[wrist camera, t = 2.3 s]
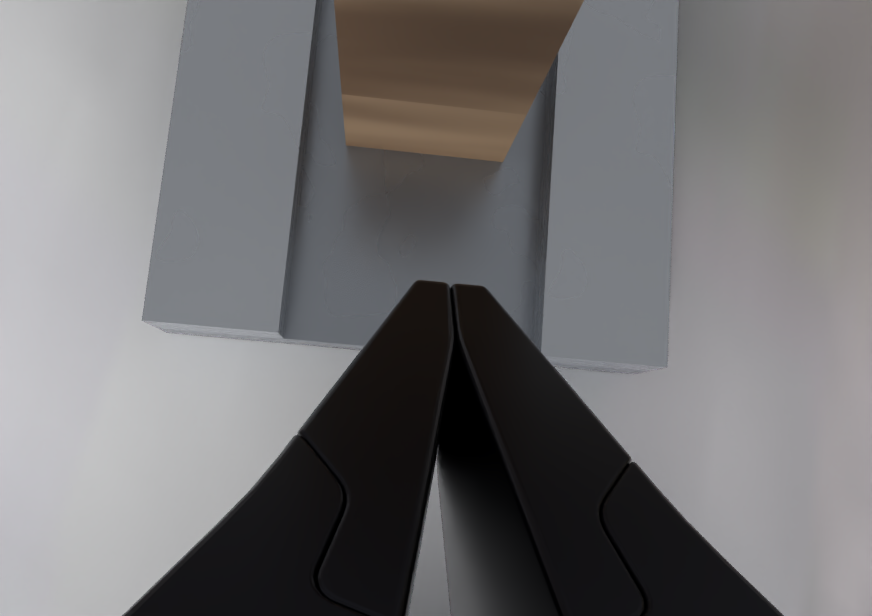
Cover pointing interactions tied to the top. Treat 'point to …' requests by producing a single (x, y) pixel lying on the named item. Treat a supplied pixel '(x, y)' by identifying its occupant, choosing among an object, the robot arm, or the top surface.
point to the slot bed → (416, 193)
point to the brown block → (445, 71)
